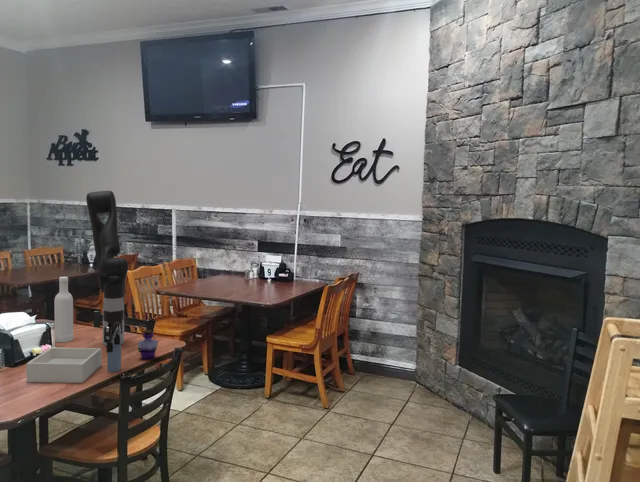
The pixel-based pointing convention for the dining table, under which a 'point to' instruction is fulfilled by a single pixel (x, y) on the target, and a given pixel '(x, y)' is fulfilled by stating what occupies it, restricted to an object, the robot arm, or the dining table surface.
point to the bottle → (63, 312)
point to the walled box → (64, 365)
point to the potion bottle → (147, 346)
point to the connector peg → (114, 359)
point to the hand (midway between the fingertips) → (113, 348)
